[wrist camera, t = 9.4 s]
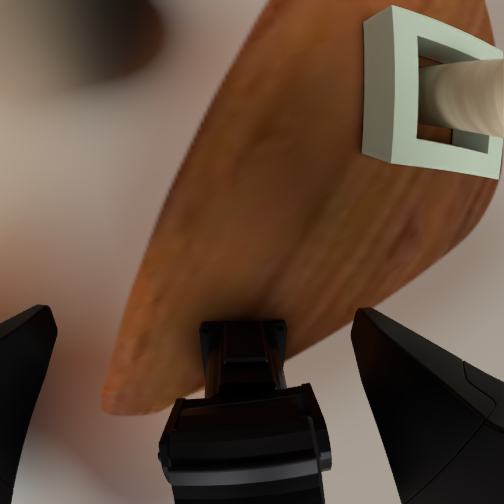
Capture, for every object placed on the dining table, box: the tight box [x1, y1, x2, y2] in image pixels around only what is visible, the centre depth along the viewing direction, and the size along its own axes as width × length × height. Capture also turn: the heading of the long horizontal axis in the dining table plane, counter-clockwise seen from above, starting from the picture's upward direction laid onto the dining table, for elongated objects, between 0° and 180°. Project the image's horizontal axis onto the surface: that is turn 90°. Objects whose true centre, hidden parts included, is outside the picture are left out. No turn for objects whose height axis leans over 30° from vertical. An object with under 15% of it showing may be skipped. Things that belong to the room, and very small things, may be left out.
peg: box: [417, 59, 504, 139], centre depth 13 cm, size 4×4×9 cm
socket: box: [362, 5, 503, 179], centre depth 15 cm, size 9×9×4 cm
